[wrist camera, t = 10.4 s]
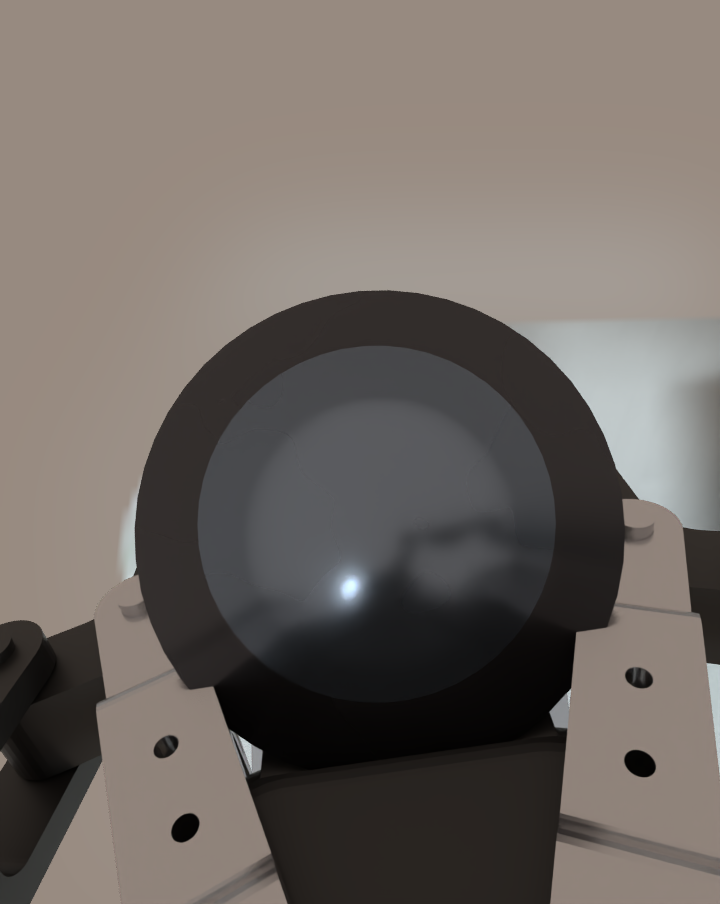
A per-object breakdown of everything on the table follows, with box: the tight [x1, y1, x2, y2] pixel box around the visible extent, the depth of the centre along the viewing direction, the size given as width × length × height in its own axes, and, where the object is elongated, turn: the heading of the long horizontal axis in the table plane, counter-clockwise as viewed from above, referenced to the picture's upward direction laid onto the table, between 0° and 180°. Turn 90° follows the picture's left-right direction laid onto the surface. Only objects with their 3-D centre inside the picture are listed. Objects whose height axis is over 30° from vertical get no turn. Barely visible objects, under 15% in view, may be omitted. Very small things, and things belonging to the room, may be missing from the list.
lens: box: [135, 290, 625, 770], centre depth 12 cm, size 6×6×10 cm
